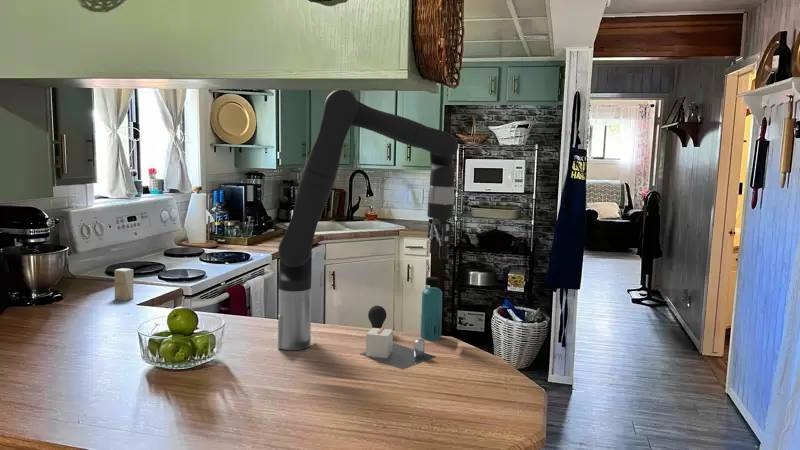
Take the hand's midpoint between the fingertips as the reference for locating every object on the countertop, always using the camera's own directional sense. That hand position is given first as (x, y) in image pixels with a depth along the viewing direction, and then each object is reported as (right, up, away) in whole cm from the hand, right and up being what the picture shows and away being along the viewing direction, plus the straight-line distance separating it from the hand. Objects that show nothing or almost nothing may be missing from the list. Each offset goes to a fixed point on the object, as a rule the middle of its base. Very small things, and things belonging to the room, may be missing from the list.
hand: (437, 256), depth 177 cm
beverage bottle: (-2, -27, +5) cm, 27 cm away
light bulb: (-18, -26, +8) cm, 32 cm away
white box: (-17, -26, -12) cm, 33 cm away
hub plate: (-12, -28, -12) cm, 33 cm away
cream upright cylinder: (-113, -18, +44) cm, 123 cm away
